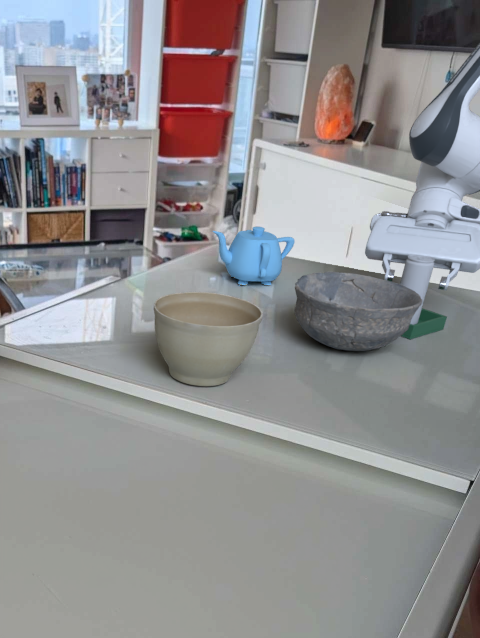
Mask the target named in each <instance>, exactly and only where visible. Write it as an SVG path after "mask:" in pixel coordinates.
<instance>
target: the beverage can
mask: <svg viewBox="0 0 480 638" xmlns="http://www.w3.org/2000/svg"><path fill="white" fill-rule="evenodd" d="M434 260H435V259H434V258H432V257H429V256H428V257H424V256H416V255H415V254H413V255H409V256H408V259H407V260H406V262H405V264H404V265H403V270H402V274H401V277H400V281H399V284H401V285H403V286H406V287H407V288H409V289H411V290H413V291H415V292H416V293H418V294H419V296H420V297H421V299H422V304H421V305H420V307H419V308H418V310H417V311H416V312H415V314H414V316H413V318H412V320H411V323H410V324H413V325H414V324H417V323H418V320H419V317H420V313H421V309H422V308H423V305H424V302H425V300H426V299H425V298H426V295H427V291H428V288H429V285H430V281H431V277H432V274H433V270H434V268H433V267H434Z"/></svg>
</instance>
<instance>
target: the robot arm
mask: <svg viewBox="0 0 480 638" xmlns="http://www.w3.org/2000/svg"><path fill="white" fill-rule="evenodd" d="M479 91H480V42H479V43H478V44H477V46H476V47H474V49H473V50H472V52H471V53H470V54H469V55H468V57H467V58H466V59H465V61H464V62H463V63H462V64H461V66H459V68H458V69H457V71H456V72H455V73H454V74H453V76H452V77H451V79H449V81H448V82H447V83H446V85H445V86H444V87H443V88H442V89H441V91H440V92H439V93H438V94H437V95H436V96H435V97H434V98H433V99H432V100H431V101H430V102H429V104H428V105H426V107H424V109H422V111H421V112H420V114H419V115H418V116H417V117H416V119H415V120H414V122H413V123H412V125H411V127H410V130H409V134H408V139H409V147H410V151H411V154H412V156H413V159H414V160H416V161H419V162H421V163H420V165H419V168H418V172H417V175H416V179H415V192H414V193H412V196H411V199H410V203H409V206H408V210H407V213H405V212H391V211H388V210H383V211H381V212H379V213H375V214H374V215H373V216H372V218H371V219H370V223H369V230H370V233H369V236H368V238H367V241H366V245H365V249H364V255H365V257H366V258H367V259H368V260H373V261H382V262H381V268H382V271H383V272H384V274H385V275H384V279H383V280H388V281H390V282H394V277H395V272H396V269H391V263H395V264H403V265H405V262H406V260H407V259H408V256H409V255H413V254H415V255H416V256H424V257H428V256H429V257H432V258H434V259H435V260H434V267H433V269H441V270H447V271H449V272H448V275H447V276H443V275H442V276H441V277H440V279H439V280H440V281H439V283H438V288H437V289H438V290H440V291H441V290H442V291H447V290H448V288H449V285H450V283H451V282H452V281H453V280H454V279H455V278H456V277H457V276H458V274H459V272H462V273H469V274H474V273H476V272H478V271H479V270H480V208H479V207H477V206H476V207H475V206H473V205H471V204H468V203H467V202H464V201H463V199H464V197H465V196H467V195H469V196H470V195H474V194H477V193H479V192H480V115H479V114H477V113H476V112H474V111H472V110H471V108H470V104H471V101H472V100H473V99H474V97H475V96H476V95H477V94H478V93H479Z"/></svg>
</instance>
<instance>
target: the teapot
mask: <svg viewBox="0 0 480 638" xmlns="http://www.w3.org/2000/svg"><path fill="white" fill-rule="evenodd" d="M265 230H266V228H265V227H263V226H253V227H252V229H246V230H239V231H238V232H237V234H236V235H235V237H234V238H233V240H232V242H231V244H230V246H229V248H228V247H227V240H226V236H225V234H224V233H223V232H222V231H217V230H212V231H211V232H213V233H214V234H215V235H216V236H217V239H218V253H219V257H220V259H221V261H222V262H223V263H224V265H225V268H226V270H227V272H228V274H229V275H230V276H231V277H235V278H234V279H237V280H238V282H237V283H238V284H242V285H246V284H248V285H249V282H260V283H261V285H262V284H264V285H271V284H272V285H273V283H272V282H273V281H276V279H277V278H278V277H279V276H280V274H281V273H282V268H283V260H284V259H285V258H286V257H287V255H289V253H290V252H291V251H292V249H293V247H294V246H295V243H296V241H295V238H293V236H281V237H277V236H276V235H275V234H273V233H271V232H269V231H265ZM280 243H286V244H285V247H284V249H283V250H282V251H281V246H280ZM231 277H230V278H231ZM264 285H263V286H264ZM272 285H271V286H272Z"/></svg>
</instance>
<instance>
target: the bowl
mask: <svg viewBox="0 0 480 638" xmlns="http://www.w3.org/2000/svg"><path fill="white" fill-rule="evenodd" d="M294 290H295V295H296V301H295V306H294V315H295V318H296V321H297V322H298V324H299V325H300V326H301V328H302V329H303V331H304V332H305V333H306V334H307V335H308V336H309V337H311V338H312V339H314V340H315V341H317V342H318V343H321V344H322V345H325V346H327V347H330V348H332V349H335V350H343V351H352V352H353V351H354V352H355V351H356V352H366V351H372V350H377V349H380V348H383V347H385V346H387V345H389V344H391V343H393V342H394V341H396V340H397V339H399V338H400V337H402V336H401V335H403V334H404V333H405V332H406V331H407V330H408V328H409V325H410V323H411V320H412V318H413V316H414V314H415V312H416V311H417V310H418V308H419V307H420V305H421V304H422V299H421V297H420V296H419V294H418V293H416V292H415V291H413V290H411V289H409V288H407V287H406V286H403V285H401V284H400V283H398V282H394V281H392V282H390V281H388V280H384V279H383V278H378V277H375V276H374V277H373V276H370V275H363V274H359V273H352V272H340V271H325V272H322V271H319V272H312V273H308V274H303V275H302V276H301V277H299V278H297V280H296V282H295V283H294Z"/></svg>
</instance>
